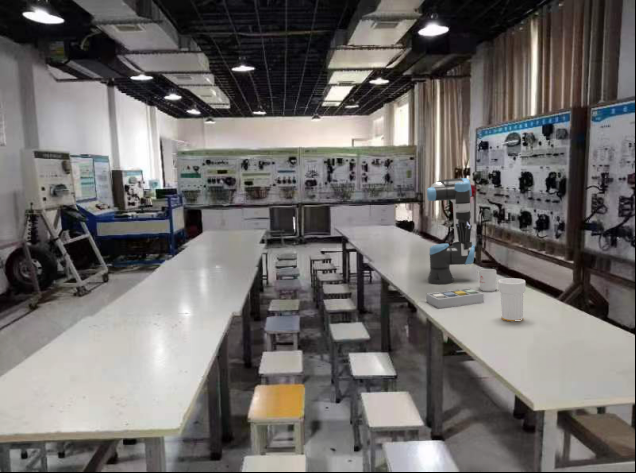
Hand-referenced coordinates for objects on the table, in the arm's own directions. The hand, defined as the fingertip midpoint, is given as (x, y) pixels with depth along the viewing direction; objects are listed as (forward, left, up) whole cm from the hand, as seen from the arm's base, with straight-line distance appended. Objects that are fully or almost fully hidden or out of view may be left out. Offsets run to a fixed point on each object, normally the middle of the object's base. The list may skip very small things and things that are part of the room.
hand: (464, 255), depth 252 cm
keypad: (+8, -11, -22) cm, 26 cm away
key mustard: (+8, -8, -20) cm, 23 cm away
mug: (-8, +17, -23) cm, 29 cm away
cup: (+44, -2, -23) cm, 50 cm away
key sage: (+8, -2, -20) cm, 21 cm away
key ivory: (+8, -20, -20) cm, 29 cm away
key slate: (+8, -14, -20) cm, 25 cm away
